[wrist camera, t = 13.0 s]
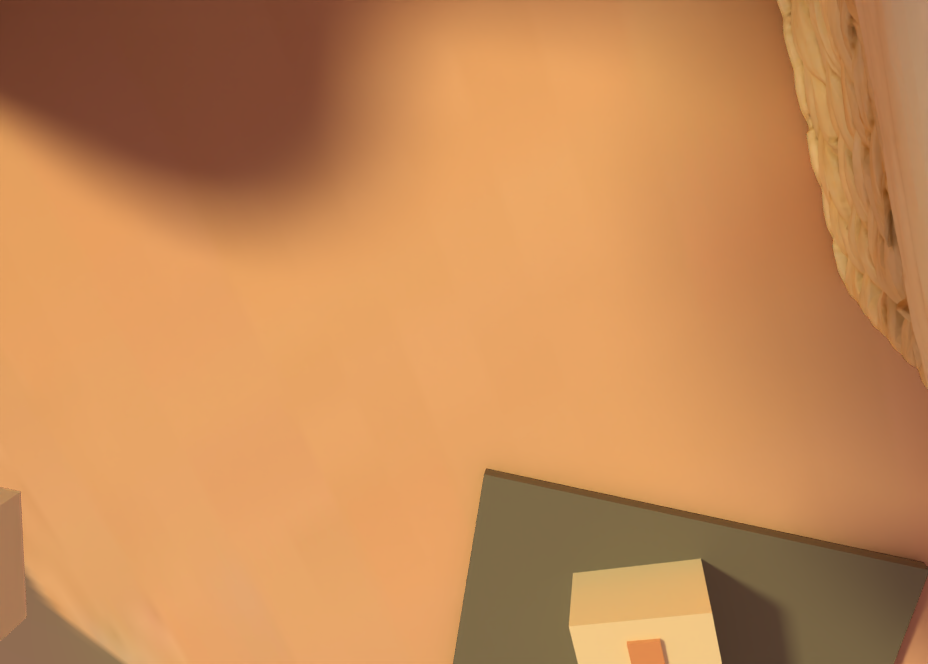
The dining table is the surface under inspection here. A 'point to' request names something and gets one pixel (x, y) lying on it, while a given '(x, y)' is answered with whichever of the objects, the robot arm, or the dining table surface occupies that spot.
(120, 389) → the dining table surface
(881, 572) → the mat
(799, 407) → the dining table surface
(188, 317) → the dining table surface
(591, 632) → the cream striped block
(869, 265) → the storage basket
